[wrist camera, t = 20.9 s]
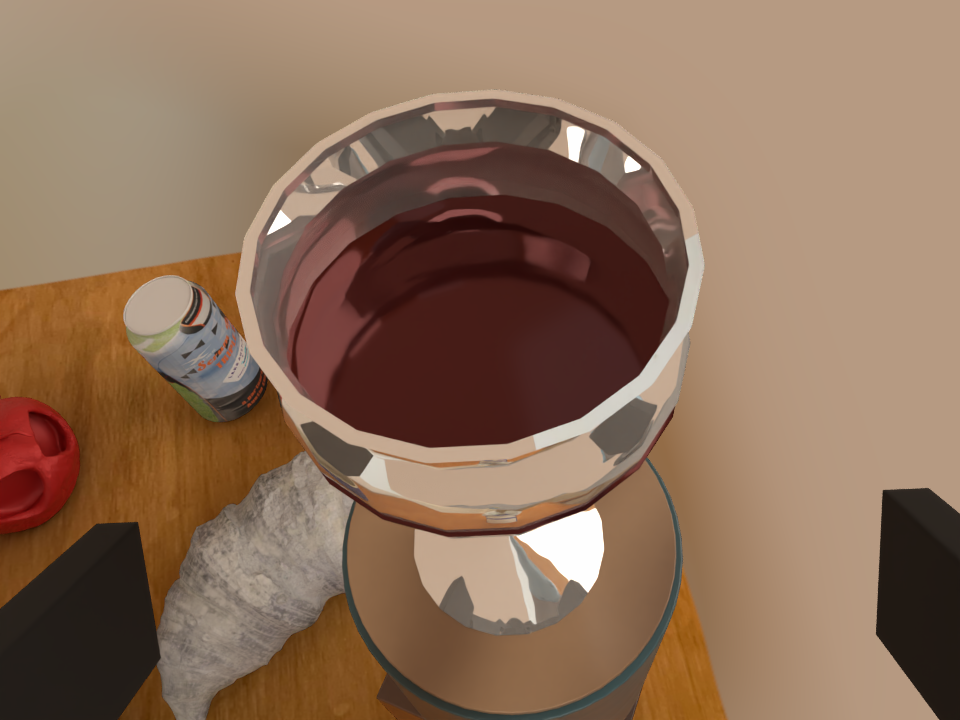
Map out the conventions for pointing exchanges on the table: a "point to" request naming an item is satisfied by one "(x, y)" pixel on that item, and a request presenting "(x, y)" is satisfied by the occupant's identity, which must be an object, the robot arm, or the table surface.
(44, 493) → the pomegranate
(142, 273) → the table surface
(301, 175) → the wineglass
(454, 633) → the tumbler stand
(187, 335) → the beverage can
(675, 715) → the table surface
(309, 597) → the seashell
